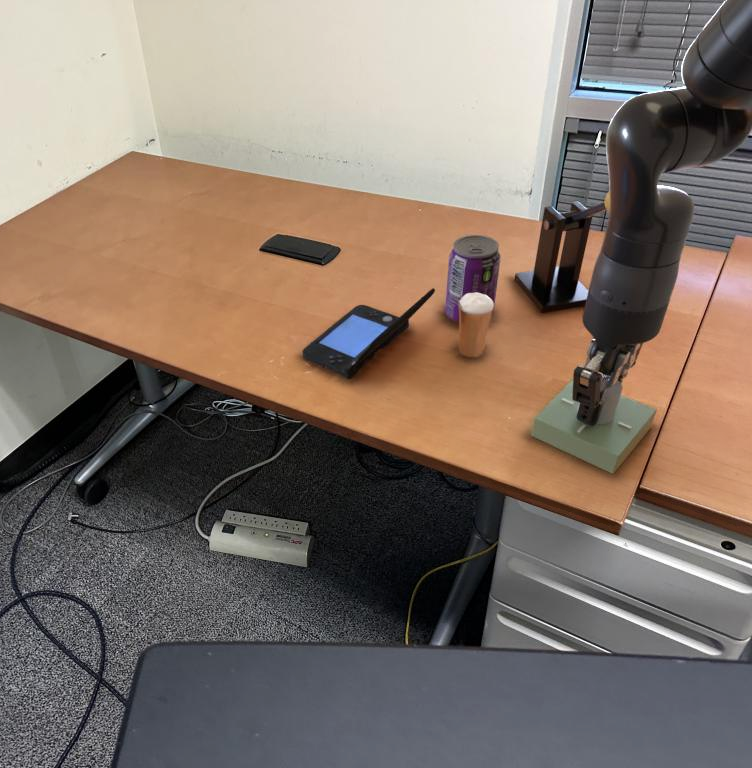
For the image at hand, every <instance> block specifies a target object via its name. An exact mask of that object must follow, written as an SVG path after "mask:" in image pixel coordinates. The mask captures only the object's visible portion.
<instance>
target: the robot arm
mask: <svg viewBox="0 0 752 768" xmlns="http://www.w3.org/2000/svg"><path fill="white" fill-rule="evenodd" d="M680 70H681V71H680V72H681V80H682V82H683V85H684V86H682V87H676V88H675V87H674V88H669V89H664V90H658V91H651V92H646V93H642V94H639V95H635V96H632V97H631V98H629V99H628V100H626V101H625V102H624V103H622V105H621V106H620V107H619V109H618V110H617V111H616V112H615V114H614V115H613V117H612V118H611V121H610V122H609V125H608V128H607V130H606V137H605V153H606V163H607V171H608V173H607V174H608V187H609V188H608V189H609V191H608V192H609V193H610V212H609V214H608V219H607V223H606V226H605V231H604V236H603V238H602V239H603V240H602V244H601V247H600V250H599V253H598V255H597V258H596V260H595V263H594V266H593V270H592V275H591V279H590V282H589V287H588V295H587V300H586V304H585V306H584V309H583V312H582V317H581V318H582V319H581V320H582V324H583V327H584V328H585V329H586V330H587V332H589V334H590V335H591V336H592V338H593V339H591V341H590V342H589V344H588V347H587V349H586V355H587V357H586V360H585V362H584V365H583V366H581V365H577V366H576V367H575V368H574V369H573V373H572V375H573V377H572V379H573V398H572V400H574V401H577V402H579V403H580V405H579V409H578V413H577V419H578V420H579V421H581V422H583V423H586V424H588V425H590V426H594V425H595V424H596V423H597V422H598V420H599V416H600V413H601V409H602V406H603V402H604V401H605V397H606V394H607V392H608V389H609V388H611V387H612V386H614V385H615V384H616V382H617V380H619V381H620V383H621V384H623V380H625V379H626V378H627V377H628V375H629V369H632V368H633V367H634V366H635V365H636V363H637V359H638V357H639V355H640V351H641V349H642V348H643V344H645V343H647V342H649V341H651V340H653V339H655V338H656V337H657V336H658V335H659V334H660V333H661V332H660V331H661V329H662V326H663V323H664V320H665V317H666V314H667V311H668V307H669V305H670V301H671V298H672V296H673V292H674V289H675V286H676V283H677V279H678V276H679V270H680V263H681V258H682V255H683V252H684V249H685V246H686V243H687V239H688V235H689V233H690V229H691V228H692V227H691V226H692V223H693V219H694V216H695V202H694V200H693V199H692V198H691V196H690V195H689V194H688V193H686V192H685V191H683V190H681V189H678V188H675V187H672V186H666V185H659V181H660V178H661V176H662V174H663V175H664V174H668V173H673V172H679V171H686V170H692V169H698V168H702V167H706V166H710V165H713V164H715V163H717V162H720V161H721V160H723V159H725V158H727V157H728V156H730V155H731V154H732V153H734V152H735V151H736V150H737V149H739V148H740V147H741V146H742V145H743V144H744V142H746V140H747V138H748V137H749V135H750V134H751V132H752V0H725V1H723V3H722V5H721V6H720V7H719V8H718V9H717V11H716V12H715V13H714V14H713V16H712V17H711V18H710V20H709V21H708V22H707V23H706V24H705V26H704V27H703V29H702V30H701V31H700V32H699V34H698V35H697V36H696V38H694V40H693V42H692V43H691V45H690V46H689V48H688V49H687V51H686V52H685V55H684V58H683V60H682V63H681V69H680ZM602 374H605V375H609V376H610V377H606V376H604V375H602ZM600 388H601V390H600Z"/></svg>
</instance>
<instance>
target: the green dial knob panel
mask: <svg viewBox="0 0 752 768" xmlns="http://www.w3.org/2000/svg"><path fill="white" fill-rule="evenodd" d="M572 398H573V378H572V379H571V380H570V381H569V382H568V383H567V384H566V385H565V386H564V387H563V388H562V389H561V390H560V391H559V393H557V394H556V395H555V396H554V398H552V399H551V400H550V402H549V403H547V405H546V406H545V407H544V408H543V409H542V410H541V411H540V412H539V413H538V414H537V415H536V416H535V417H534V419H533V423H532V424H533V425H532V429H531V435H530V437H533V438H534V439H537V440H539V441H541V442H544V443H545V444H547V445H550V446H552V447H554V448H555V449H559V450H561V451H563V452H565V453H567V454H568V455H569V454H570V455H571V456H573V457H575V458H577V459H580V460H582V461H584V462H585V463H589V464H590V465H592V466H595V467H597V468H599V469H601V470H603V471H606V472H608V473H609V474H612V475H614V474H615V472H616V471H617V470H618V468H619V467H620V466H621V465H622V464H623V462H625V460H626V459H627V458H628V456H630V454H631V452H632V451H633V450H634V449H635V448H636V446H637V445H639V443H640V441H641V440H642V439H643V438H644V437H645V435H646V434H647V433H648V431H650V429H651V428H652V425H653V422H654V420H655V417H656V414H657V412H658V409H657V408H654V407H652V406H649V405H648V404H645V403H642V402H639V401H638V400H634V399H632V398H629V397H627V396H625V395H622V394H621V396H620V399H619V403H618V406H617V409H616V412H615V416H614V419H613V420H612V421H611V422H609V423H607V424H602V425H597V424H595V425H594V426H590V425H588V424H586V423H583V422H581V421H579V420H578V419H577V409H578V405H579V402H577V401H574V400H572Z"/></svg>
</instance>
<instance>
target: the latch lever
mask: <svg viewBox="0 0 752 768" xmlns="http://www.w3.org/2000/svg"><path fill="white" fill-rule="evenodd" d="M607 211H608V212H609V213H610V193H609V191H608V192H607V193H606V195H605V198H604V201H603V202H601V203H598V204H595V205H593V206H591V207H589V208H586V210H583V211H581V212H578V213H577V211H571V212H570V211H566V212H561V213H559V214H560V215H561V216H563V217H564V218H565V222H564V228H563V232H566V231H570V230H573V229H575V228H578V227H579V221H581V220H584V219H586V218H589V217H591V216H593V217H595V216H597V215H599V214H602V213H605V212H607Z"/></svg>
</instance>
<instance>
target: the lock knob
mask: <svg viewBox="0 0 752 768" xmlns="http://www.w3.org/2000/svg"><path fill="white" fill-rule="evenodd" d="M601 374H602V375H604V376H606V377H610V376H609V375H605V374H603V373H601ZM623 389H624V387H623V383H620V381H619V380H617V382H616V384H615V385H614V386H612V387H611V388H609V389H608V392H607V394H606V397H605V401H604V402H603V406H602V409H601V413H600V416H599V420H598V422H597V423H596V424H597V425H602V424H607V423H609V422H611V421H612V420H613V419H614V416H615V412H616V409H617V406H618V403H619V399H620V396H621V395H622V392H623ZM600 390H601V388H600ZM579 405H580V403H579ZM579 405H578V409H579ZM578 409H577V413H578Z"/></svg>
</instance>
